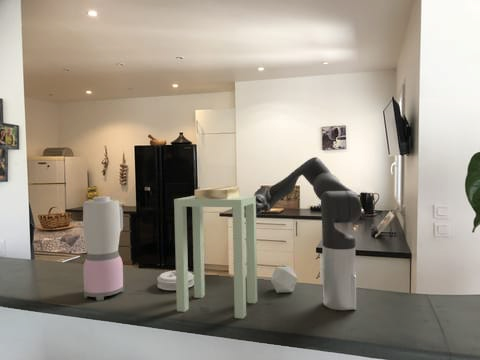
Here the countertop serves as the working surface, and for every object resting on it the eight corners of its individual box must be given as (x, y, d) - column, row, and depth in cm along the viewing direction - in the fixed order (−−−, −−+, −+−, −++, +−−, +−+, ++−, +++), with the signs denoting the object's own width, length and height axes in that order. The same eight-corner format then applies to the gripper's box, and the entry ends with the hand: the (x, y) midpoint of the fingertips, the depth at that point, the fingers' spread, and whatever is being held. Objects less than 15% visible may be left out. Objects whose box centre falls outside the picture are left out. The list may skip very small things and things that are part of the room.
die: (290, 299, 114) (304, 272, 117) (266, 284, 116) (280, 258, 118) (287, 299, 122) (300, 274, 125) (264, 286, 123) (278, 261, 126)
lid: (199, 289, 124) (198, 274, 124) (162, 295, 119) (161, 280, 119) (188, 279, 136) (188, 266, 136) (154, 284, 130) (153, 270, 130)
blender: (103, 303, 112) (100, 198, 111) (74, 298, 117) (71, 198, 116) (138, 287, 127) (135, 195, 126) (111, 283, 132) (108, 194, 131)
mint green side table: (257, 300, 112) (255, 195, 111) (243, 318, 99) (241, 199, 98) (197, 294, 118) (195, 195, 117) (176, 310, 105) (174, 199, 104)
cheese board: (248, 193, 121) (248, 186, 121) (227, 198, 102) (227, 189, 102) (220, 193, 124) (220, 186, 124) (194, 198, 105) (194, 189, 105)
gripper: (273, 212, 152) (264, 220, 136) (240, 213, 156) (228, 220, 140) (272, 194, 151) (263, 200, 136) (239, 195, 155) (227, 200, 140)
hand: (245, 210), depth 138 cm, fingers open, 8 cm apart
